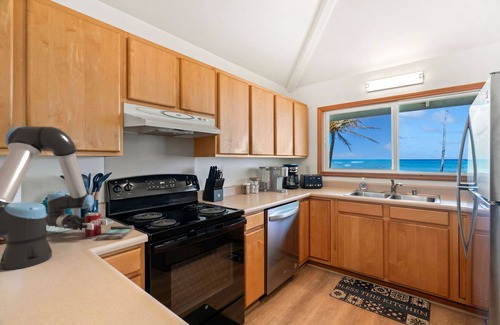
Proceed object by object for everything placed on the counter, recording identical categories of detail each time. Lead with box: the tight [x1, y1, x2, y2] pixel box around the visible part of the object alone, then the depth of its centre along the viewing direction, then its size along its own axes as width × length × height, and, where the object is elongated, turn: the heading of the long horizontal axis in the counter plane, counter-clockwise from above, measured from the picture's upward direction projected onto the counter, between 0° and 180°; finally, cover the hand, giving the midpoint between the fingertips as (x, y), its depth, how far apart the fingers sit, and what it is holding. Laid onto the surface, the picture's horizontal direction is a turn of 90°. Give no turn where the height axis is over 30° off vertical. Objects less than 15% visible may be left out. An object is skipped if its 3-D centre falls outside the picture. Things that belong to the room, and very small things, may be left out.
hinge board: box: [95, 225, 135, 241], centre depth 126 cm, size 12×18×3 cm, turn 8°
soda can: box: [84, 212, 102, 239], centre depth 123 cm, size 7×7×12 cm
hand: (100, 224), depth 121 cm, fingers closed on soda can, 7 cm apart
